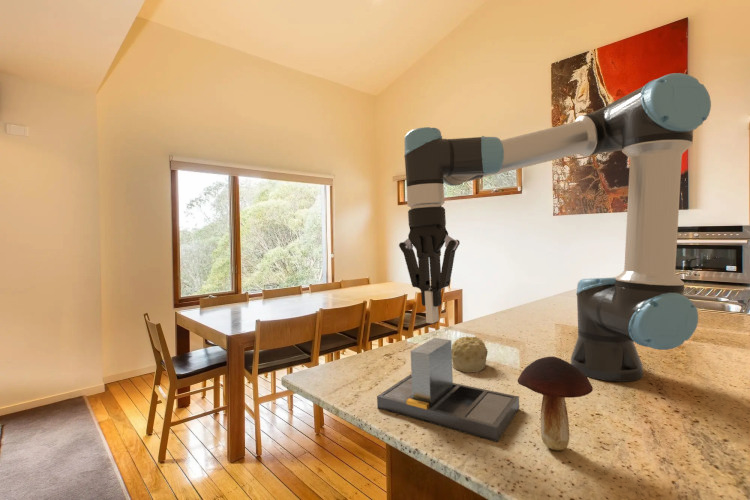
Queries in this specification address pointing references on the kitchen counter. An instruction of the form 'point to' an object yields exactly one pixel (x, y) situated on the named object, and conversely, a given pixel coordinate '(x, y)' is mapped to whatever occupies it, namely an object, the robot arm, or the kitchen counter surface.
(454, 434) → the kitchen counter surface
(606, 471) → the kitchen counter surface
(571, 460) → the kitchen counter surface
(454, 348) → the decorative item
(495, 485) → the kitchen counter surface
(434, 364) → the panel
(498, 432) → the rack
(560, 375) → the decorative mushroom
